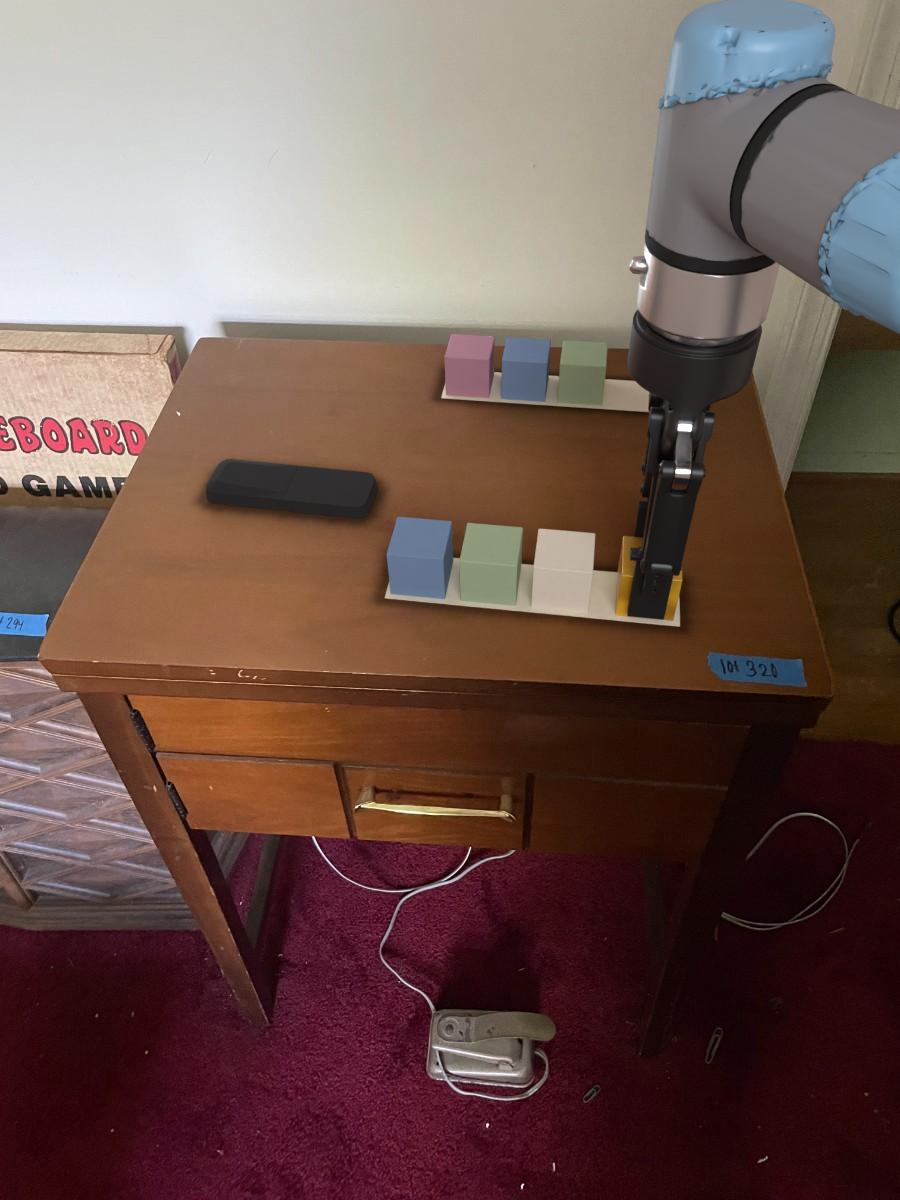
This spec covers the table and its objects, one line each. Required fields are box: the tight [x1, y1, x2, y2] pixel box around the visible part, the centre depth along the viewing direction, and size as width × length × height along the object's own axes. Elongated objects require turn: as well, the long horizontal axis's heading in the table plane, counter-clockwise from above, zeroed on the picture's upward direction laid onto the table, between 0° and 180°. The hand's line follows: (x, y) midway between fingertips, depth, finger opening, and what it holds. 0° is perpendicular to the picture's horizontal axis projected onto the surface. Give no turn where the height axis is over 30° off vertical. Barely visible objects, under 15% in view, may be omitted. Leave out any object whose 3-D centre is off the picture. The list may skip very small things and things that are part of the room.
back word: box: [440, 333, 649, 413], centre depth 89 cm, size 23×5×4 cm, turn 81°
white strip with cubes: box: [384, 516, 681, 627], centre depth 70 cm, size 23×5×4 cm, turn 81°
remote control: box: [205, 458, 379, 519], centre depth 80 cm, size 5×2×15 cm
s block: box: [615, 535, 683, 621], centre depth 69 cm, size 4×4×4 cm
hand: (645, 590), depth 70 cm, fingers closed on s block, 4 cm apart
